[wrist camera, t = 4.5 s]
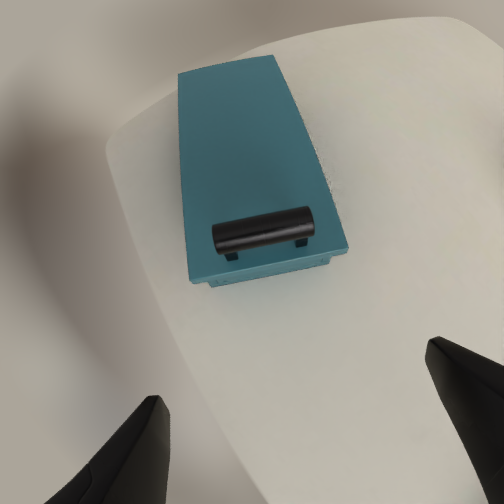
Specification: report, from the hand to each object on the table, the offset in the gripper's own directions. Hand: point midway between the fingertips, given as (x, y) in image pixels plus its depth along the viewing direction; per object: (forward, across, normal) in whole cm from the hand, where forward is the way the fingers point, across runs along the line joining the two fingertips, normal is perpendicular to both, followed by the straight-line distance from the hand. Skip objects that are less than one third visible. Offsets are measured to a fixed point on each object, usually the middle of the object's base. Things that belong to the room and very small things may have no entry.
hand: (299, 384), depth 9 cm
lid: (+17, 0, -7) cm, 19 cm away
